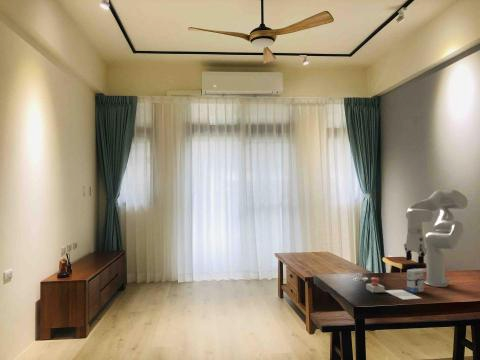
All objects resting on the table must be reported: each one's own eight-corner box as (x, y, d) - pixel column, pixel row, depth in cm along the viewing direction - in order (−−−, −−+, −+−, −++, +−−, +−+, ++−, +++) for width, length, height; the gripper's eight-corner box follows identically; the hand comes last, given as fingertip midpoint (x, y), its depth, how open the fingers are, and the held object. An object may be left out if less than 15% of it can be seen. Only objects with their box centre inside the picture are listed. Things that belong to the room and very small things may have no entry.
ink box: (414, 293, 196) (414, 271, 196) (406, 290, 200) (406, 269, 200) (424, 291, 199) (424, 270, 200) (416, 289, 204) (416, 268, 204)
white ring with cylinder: (369, 280, 223) (369, 274, 223) (364, 283, 217) (364, 276, 217) (355, 278, 229) (355, 271, 229) (350, 280, 223) (350, 274, 223)
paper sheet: (401, 290, 201) (401, 289, 201) (421, 298, 186) (421, 298, 186) (384, 291, 199) (384, 290, 199) (403, 299, 183) (403, 299, 183)
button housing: (377, 288, 204) (377, 283, 204) (384, 291, 197) (384, 286, 197) (366, 289, 203) (366, 283, 203) (373, 292, 196) (373, 287, 196)
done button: (376, 285, 203) (376, 277, 203) (380, 287, 198) (380, 279, 198) (369, 286, 202) (369, 277, 202) (373, 288, 197) (373, 279, 198)
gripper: (431, 233, 193) (431, 264, 192) (410, 229, 210) (410, 258, 209) (419, 233, 191) (419, 265, 191) (399, 229, 208) (399, 258, 208)
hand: (414, 261), depth 200 cm, fingers open, 9 cm apart
